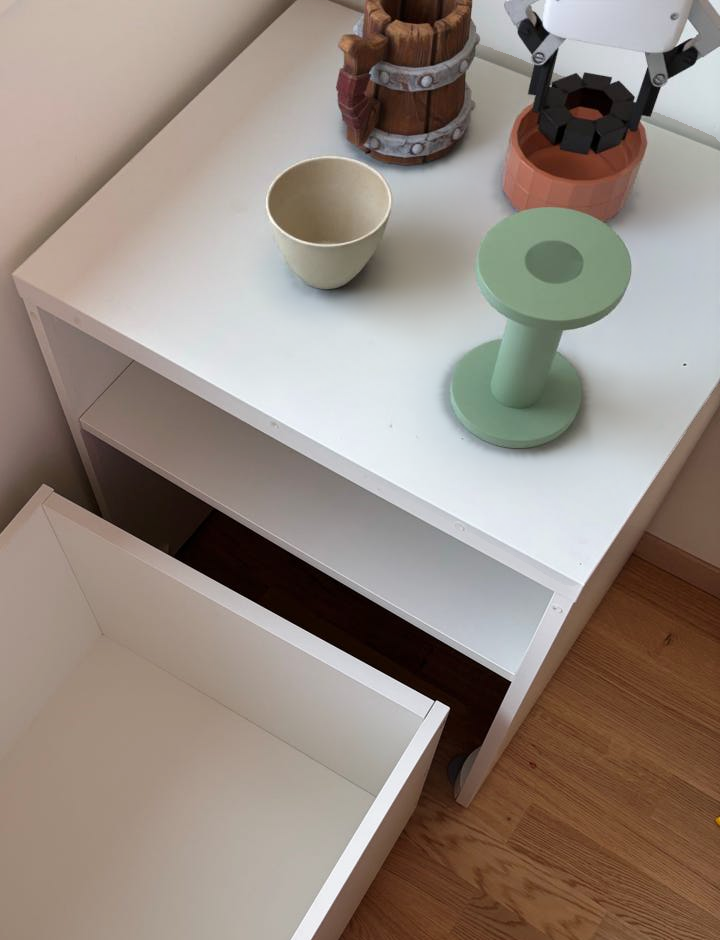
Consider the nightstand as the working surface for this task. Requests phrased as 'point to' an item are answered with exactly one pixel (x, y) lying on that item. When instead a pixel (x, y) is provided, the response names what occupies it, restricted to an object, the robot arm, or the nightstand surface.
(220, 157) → the nightstand surface
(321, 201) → the flower pot
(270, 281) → the nightstand surface
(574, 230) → the stand
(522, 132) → the bowl
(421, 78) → the mug
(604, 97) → the ring
